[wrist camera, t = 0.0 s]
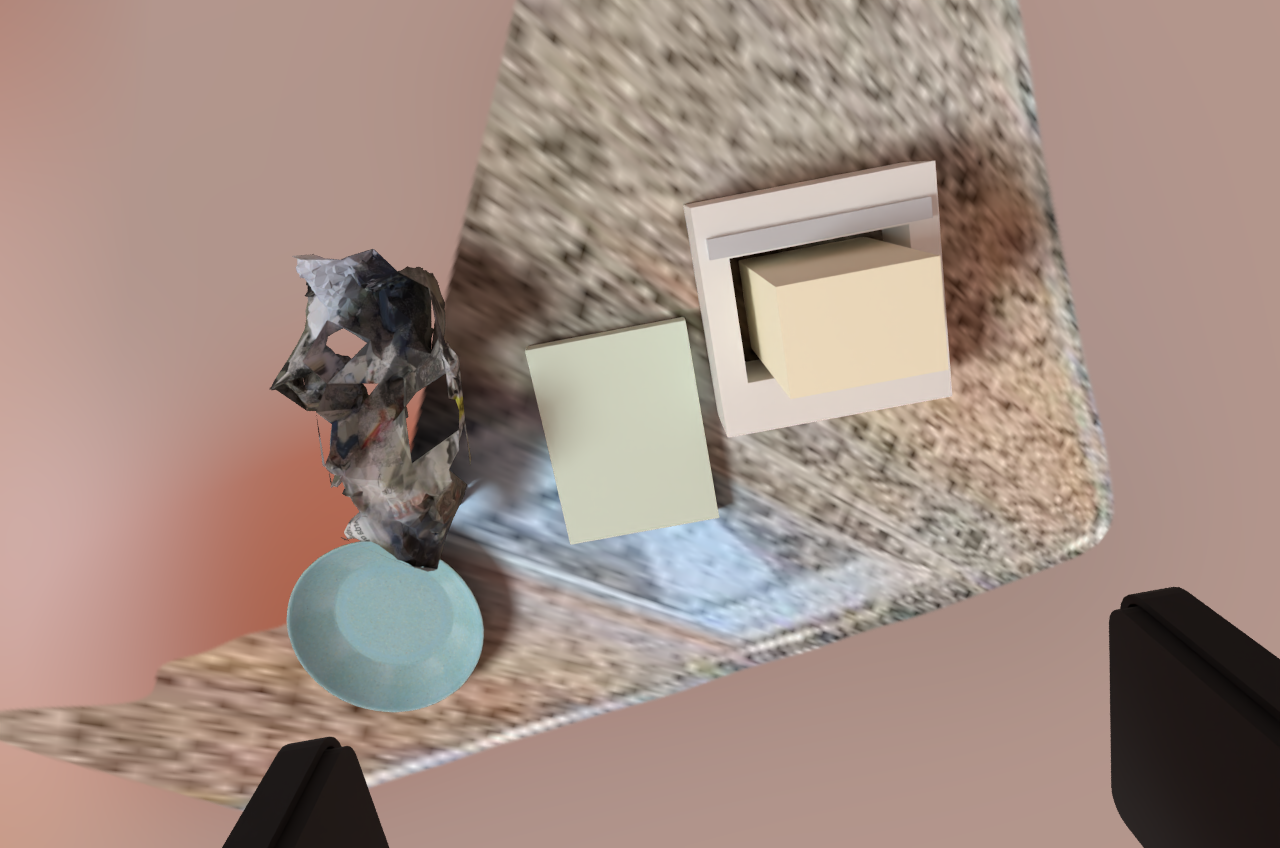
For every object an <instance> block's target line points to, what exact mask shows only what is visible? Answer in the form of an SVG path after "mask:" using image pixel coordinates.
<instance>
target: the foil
mask: <svg viewBox="0 0 1280 848" xmlns="http://www.w3.org/2000/svg"><path fill="white" fill-rule="evenodd" d="M293 257H295V258H297V259H298V260H297V263H298V265H297V266H296V270H297V272H298V273H299V274H300V277H301V278H305V280H306V281H307V283H306V285H308V292H307V293H306V295H305V296H307V297H308V303H307V307H306V325H305V330H304V332H303V334H302V336H301V338H300V340H299V342H298V344H297V346H296V347H295V349H294V350H293V352H292V354H291V355H290V357H289V359H288V360H287V362H286V363H285V365H284V367H283V368H282V370H281V371H280V373H279V374H278V376H277V377H276V379H275V381H274V382H273V384H272V387H271V388H270V389H271V390H277V391H279V392H280V393H282V394H283V395H285V396H286V397H288V398H289V399H291V400H292V401H294V402H295V403H296V404H298V405H299V406H301V407H302V408H304V409H305V410H307V411H316V412H317V413H318V414H319V415H320V416H322V417H323V418H324V419H326V420H327V421H328V422H330V423H331V424H332V430H331V438H330V454H329V456H328V459H327V461H326V464H324V458H323V452H322V446H321V440H320V439H319V440H320V447H321V455H322V463H323V466H326V469H327V470H328V471H329V472H331V473H332V474H334V475H335V476H334V479H333V482H332V484H331V487H333V486H335V487H338V485H340V483H341V482H343V484H344V487H345V489H344V491H343V493H342V494H343V495H345V496H348V497H351V499H352V501H353V503H354V504H355V506H356V507H357V508H358V510H359V513H358V514H357V515H356V516H355V517H354V518H352V519H351V521H350V522H349V524H348V526H347V527H346V529H345V532H344V533H345V535H346V537H347V539H352V538H356V539H358V540H360V541H364V542H373V543H375V544H378V545H379V546H380V547H382V548H383V549H384V550H386V551H387V552H389V553H390V554H392V555H393V556H394V557H395V558H396V559H397V560H401V561H403V562H406V563H408V564H410V565H411V566H412V567H414V568H418V569H421V570H424V571H427V572H429V571H435V570H436V569H438V565H439V561H440V557H441V553H442V549H443V545H444V542H445V538H446V535H447V532H448V530H449V528H450V525H451V523H452V520H453V518H454V516H455V514H456V512H457V510H458V507H459V505H460V504H461V502H462V499H463V497H464V494H465V490H466V486H467V484H466V483H465V482H463V481H462V480H461V479H460V478H459V477H457V476H456V475H455V474H454V473H452V472H451V471H450V470H449V469H450V466H451V464H452V462H453V460H454V458H455V457H456V455H457V453H458V451H459V440H460V437H461V433H462V429H463V426H464V427H465V431H466V436H467V442H468V435H467V429H466V423H465V415H464V405H463V396H462V386H461V375H460V364H459V357H458V355H457V354H456V353H455V352H454V351H453V350H452V349H451V348H450V346H449V344H448V342H447V343H446V344H445V341H444V332H445V310H444V308H445V302H444V300H443V297H442V295H441V292H440V289H439V285H438V282H437V280H436V279H435V277H434V275H433V273H428V272H427V271H426V270H423V268H421V267H416V268H410V267H406V268H405V269H403V270H401V271H396V270H395V269H394V268H393V267H392V266H391V265H390V264H389V263H388V262H387V261H386V260H385V259H383V257H382V256H381V255H379V254H378V253H377V252H376V251H375V250H374V249H371V250H368V251H365V252H361V253H358V254H355V255H352V256H348V257H346V258H344V259H341V260H337V259H325V258H322V257H320V256H316V255H314V254H312V255H301V256H293ZM431 300H432V305H433V310H434V317H435V324H434V329H433V328H431ZM435 313H436V314H435ZM343 328H344V329H346V330H348V331H350V332H351V333H353V334H355V335H356V336H358V337H359V338H361V339H362V340H364V341H365V342H367V344H366V345H365V346H364V347H363V348H362V349H361V350H360V351H359V352H358V353H357V354H356V355H355V356H354V357H353V358H352V359H351V358H350V357H349V356H342V355H339V354H335V353H334V352H333V351H332V350H331V349H330V348H329V347H328V346H326V342H327V338H328V336H330V335H331V334H333V333H334V332H336V331H338V330H340V329H343ZM433 331H434V332H433ZM432 334H433V341H432V350H431V338H432ZM445 373H446V377H447V387H448V396H449V399H455V400H456V402H457V405H458V408H459V430H458V431H457V432H455V433H454V434H452V435H451V436H450V437H448V438H447V439H445V440H444V441H443V442H441V443H440V444H438V445H437V446H436V447H434V448H433V449H431V450H430V451H428V452H427V453H426V454H424V455H423V456H421V457H420V458H419V459H417V460H416V461H414V462H413V463H412V461H411V453H410V446H409V439H408V432H407V424H406V418H407V417H408V412H407V407H406V405H407V404H408V403H409V401H410V400H411V399H412V397H413V396H414V395H415V393H416V392H417V391H419V390H421V389H422V388H424V387H425V386H427V385H428V384H430V383H432V382H433V381H435V380H436V379H438V378H439V377H441V376H442V375H444V374H445ZM303 379H304V382H303ZM362 383H379V384H378V385H377V386H376V388H375V389H374V390H373V392H372V393H371V394H370V395H368V393H367V389H366V387H365V386H364V385H363V384H362ZM318 430H319V428H318ZM318 432H319V431H318ZM319 438H320V434H319ZM468 451H469V461H470V463H471V454H470V448H469V442H468ZM330 482H331V478H330ZM344 540H346V539H344ZM363 548H364V547H363ZM368 550H369V549H368ZM375 553H376V552H375ZM380 555H381V554H380ZM385 557H386V556H385ZM387 558H388V557H387ZM392 560H393V559H392ZM397 562H398V561H397ZM400 563H401V562H400ZM403 564H404V563H403Z"/></svg>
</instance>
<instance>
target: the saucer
mask: <svg viewBox="0 0 1280 848" xmlns="http://www.w3.org/2000/svg"><path fill="white" fill-rule="evenodd" d="M363 547H364V548H363ZM368 549H369V550H368ZM375 552H376V553H375ZM380 554H381V555H380ZM385 556H386V557H385ZM387 557H388V558H387ZM392 559H393V560H392ZM397 561H398V562H397ZM400 562H401V563H400ZM403 563H404V564H403ZM287 628H288V634H289V637H290V641H291V644H292V647H293V649H294V651H295V654H296V656H297V658H298V660H299V661H300V663H301V665H302V666H303V667H304V669H305V670H306V671H307V672H308V674H309V675H310V676H311V677H312V678H313V679H314V680H315V681H316V682H317V683H318V684H319V685H321V686H322V687H323V688H324V689H326V690H327V691H328V692H329V693H331V694H333V695H334V696H336V697H338V698H339V699H341V700H343V701H345V702H348V703H350V704H352V705H355V706H358V707H362V708H366V709H371V710H375V711H383V712H403V711H412V710H416V709H420V708H424V707H428V706H430V705H433V704H435V703H437V702H439V701H441V700H443V699H445V698H447V697H448V696H450V695H451V694H452V693H454V692H455V691H457V690H458V689H459V688H460V687H461V686H462V685H463V684H464V683H465V682H466V681H467V679H468V678H469V676H470V675H471V674H472V672H473V671H474V669H475V667H476V665H477V663H478V660H479V658H480V655H481V652H482V648H483V639H484V626H483V619H482V615H481V611H480V608H479V605H478V603H477V600H476V599H475V597H474V595H473V593H472V591H471V590H470V588H469V587H468V585H467V584H466V582H465V581H464V580H463V579H462V577H461V576H460V575H459V574H458V573H457V572H456V571H455V570H454V569H453V568H451V567H450V566H449V565H448V564H447V563H445V562H444V561H443V560H441V559H440V561H439V565H438V569H436V570H435V571H429V572H427V571H424V570H421V569H418V568H414V567H412V566H411V565H410V564H408V563H406V562H403V561H401V560H397V559H396V558H395V557H394V556H393V555H392V554H390V553H389V552H387V551H386V550H384V549H383V548H382V547H380V546H379V545H378V544H375V543H373V542H364V541H360V542H355V543H351V544H347V545H343V546H341V547H338V548H336V549H334V550H332V551H330V552H328V553H326V554H324V555H323V556H321V557H320V558H318V559H317V560H316V561H315V562H314V563H312V564H311V565H310V566H309V567H308V568H307V569H306V570H305V571H304V573H303V574H302V575H301V576H300V578H299V580H298V581H297V583H296V585H295V587H294V589H293V591H292V594H291V596H290V600H289V604H288V609H287Z"/></svg>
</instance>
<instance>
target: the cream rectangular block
mask: <svg viewBox="0 0 1280 848" xmlns="http://www.w3.org/2000/svg"><path fill="white" fill-rule="evenodd" d="M738 262H739V269H740V275H741V282H742V289H743V296H744V302H745V309H746V316H747V323H748V330H749V336H750V343H751V348H752V349H753V351H754V352H755V353H756V355H757V356H758V357H759V359H760V360H761V361H762V363H763V364H764V365H765V366H766V368H767V369H768V370H769V372H770V373H771V374H772V376H773V377H774V378H775V379H776V381H777V382H778V383H779V385H780V386H781V387H782V389H783V390H784V391H785V392H786V394H787V395H788V396H789V398H790V399H794V398H800V397H805V396H810V395H816V394H821V393H826V392H832V391H837V390H843V389H848V388H853V387H859V386H864V385H869V384H875V383H880V382H886V381H891V380H896V379H902V378H907V377H912V376H918V375H923V374H929V373H934V372H939V371H945V370H949V369H948V355H947V341H946V327H945V314H944V300H943V286H942V272H941V259H940V256H939V255H935V254H931V253H927V252H923V251H919V250H915V249H911V248H907V247H903V246H899V245H895V244H892V243H888V242H884V241H880V240H876V239H872V238H868V237H859V238H853V239H848V240H843V241H838V242H833V243H827V244H822V245H817V246H812V247H807V248H801V249H796V250H791V251H786V252H780V253H775V254H770V255H765V256H760V257H754V258H749V259H744V260H739V261H738Z"/></svg>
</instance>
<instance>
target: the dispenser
mask: <svg viewBox="0 0 1280 848" xmlns="http://www.w3.org/2000/svg"><path fill="white" fill-rule="evenodd" d="M683 206H684V212H685V218H686V224H687V230H688V236H689V242H690V248H691V254H692V261H693V267H694V273H695V279H696V285H697V291H698V297H699V303H700V309H701V315H702V321H703V327H704V333H705V340H706V346H707V352H708V358H709V364H710V370H711V376H712V382H713V388H714V394H715V400H716V406H717V412H718V416H719V418H720V420H721V423H722V425H723V428H724V430H725V433H726V435H727V437H728V438H729V437H734V436H740V435H745V434H750V433H756V432H761V431H767V430H772V429H777V428H783V427H788V426H794V425H799V424H805V423H810V422H815V421H821V420H826V419H832V418H837V417H842V416H848V415H853V414H859V413H864V412H870V411H875V410H880V409H886V408H891V407H897V406H902V405H907V404H913V403H918V402H924V401H929V400H934V399H940V398H945V397H951V396H952V387H951V373H950V359H949V345H948V331H947V317H946V303H945V289H944V275H943V261H942V248H941V234H940V220H939V206H938V192H937V178H936V164H935V161H916V162H901V163H896V164H891V165H886V166H881V167H876V168H870V169H865V170H860V171H855V172H850V173H845V174H840V175H834V176H829V177H824V178H819V179H814V180H809V181H803V182H798V183H793V184H788V185H783V186H778V187H773V188H767V189H762V190H757V191H752V192H747V193H742V194H737V195H731V196H726V197H721V198H716V199H711V200H706V201H701V202H695V203H690V204H685V205H683ZM881 229H882V239H883V241H884V242H888V243H892V244H895V245H899V246H903V247H907V248H911V249H915V250H919V251H923V252H927V253H931V254H935V255H939V256H940V259H941V272H942V286H943V300H944V314H945V327H946V341H947V355H948V369H949V370H945V371H939V372H934V373H929V374H923V375H918V376H912V377H907V378H902V379H896V380H891V381H886V382H880V383H875V384H869V385H864V386H859V387H853V388H848V389H843V390H837V391H832V392H826V393H821V394H816V395H810V396H805V397H800V398H794V399H790V398H789V396H788V395H787V394H786V392H785V391H784V390H783V389H782V387H781V386H780V385H779V383H778V382H777V381H776V379H775V378H774V377H773V376H772V374H771V373H770V372H769V370H768V369H767V368H766V366H765V365H764V364H763V363H762V361H761V360H760V359H759V360H754V361H748V362H745V360H744V353H743V346H742V340H741V333H740V326H739V320H738V313H737V307H736V300H735V293H734V287H733V280H732V273H731V267H730V260H729V259H730V258H735V257H740V256H746V255H751V254H756V253H761V252H766V251H772V250H777V249H782V248H787V247H793V246H798V245H803V244H808V243H813V242H819V241H824V240H829V239H834V238H839V237H845V236H850V235H855V234H860V233H866V232H871V231H876V230H881Z"/></svg>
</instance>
